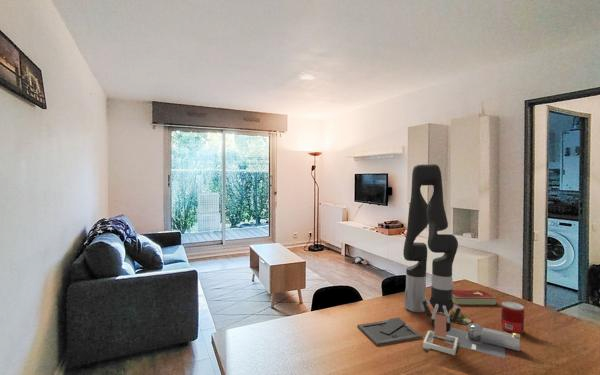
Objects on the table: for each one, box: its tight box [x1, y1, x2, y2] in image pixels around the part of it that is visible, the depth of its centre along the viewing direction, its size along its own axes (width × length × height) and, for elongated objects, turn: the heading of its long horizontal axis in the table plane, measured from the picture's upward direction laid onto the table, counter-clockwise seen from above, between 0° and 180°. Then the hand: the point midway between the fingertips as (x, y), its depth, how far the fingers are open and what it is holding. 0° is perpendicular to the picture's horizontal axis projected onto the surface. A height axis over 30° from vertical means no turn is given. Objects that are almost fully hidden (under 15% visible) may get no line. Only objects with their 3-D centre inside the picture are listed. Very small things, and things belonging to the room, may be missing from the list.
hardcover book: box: [452, 289, 498, 306], centre depth 167 cm, size 12×21×4 cm, turn 90°
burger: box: [449, 308, 473, 325], centre depth 143 cm, size 12×12×8 cm
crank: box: [467, 322, 521, 352], centre depth 121 cm, size 17×5×6 cm, turn 58°
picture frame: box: [357, 317, 423, 347], centre depth 132 cm, size 16×2×21 cm
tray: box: [422, 330, 458, 356], centre depth 121 cm, size 11×11×3 cm
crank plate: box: [444, 326, 506, 359], centre depth 123 cm, size 20×15×1 cm
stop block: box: [433, 312, 447, 338], centre depth 121 cm, size 4×4×8 cm
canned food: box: [500, 301, 525, 335], centre depth 134 cm, size 8×8×11 cm
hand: (440, 329), depth 121 cm, fingers closed on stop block, 4 cm apart
